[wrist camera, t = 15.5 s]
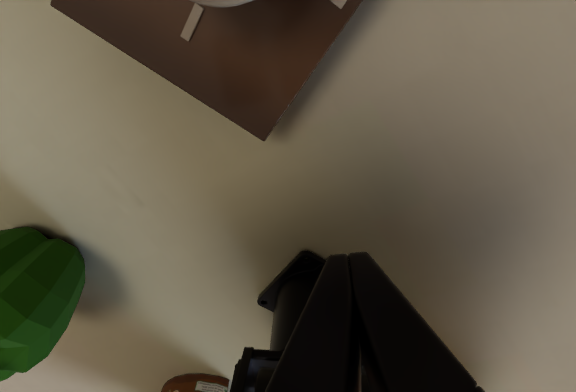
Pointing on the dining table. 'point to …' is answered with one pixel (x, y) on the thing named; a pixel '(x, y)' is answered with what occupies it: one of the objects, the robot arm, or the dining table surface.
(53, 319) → the bell pepper
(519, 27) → the dining table surface
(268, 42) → the dial panel
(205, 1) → the dial
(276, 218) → the dining table surface
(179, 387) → the food container
